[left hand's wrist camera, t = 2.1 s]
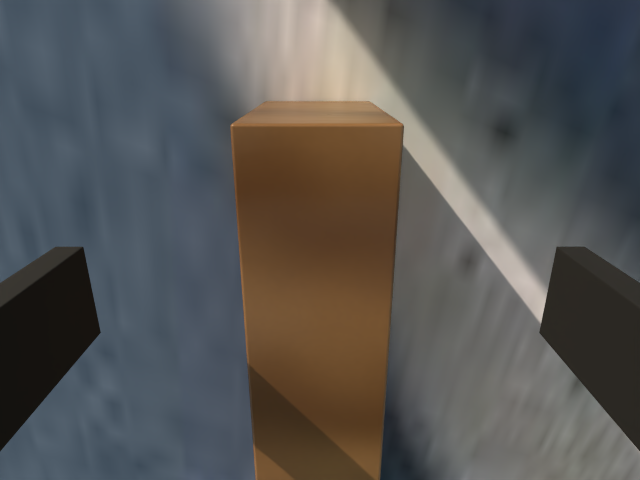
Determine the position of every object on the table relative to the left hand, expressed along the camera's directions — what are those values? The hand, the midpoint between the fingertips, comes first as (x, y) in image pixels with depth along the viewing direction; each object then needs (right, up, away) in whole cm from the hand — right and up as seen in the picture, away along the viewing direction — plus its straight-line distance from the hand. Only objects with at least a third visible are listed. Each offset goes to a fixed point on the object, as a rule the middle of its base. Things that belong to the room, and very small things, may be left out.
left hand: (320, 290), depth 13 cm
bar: (0, -5, +12) cm, 13 cm away
